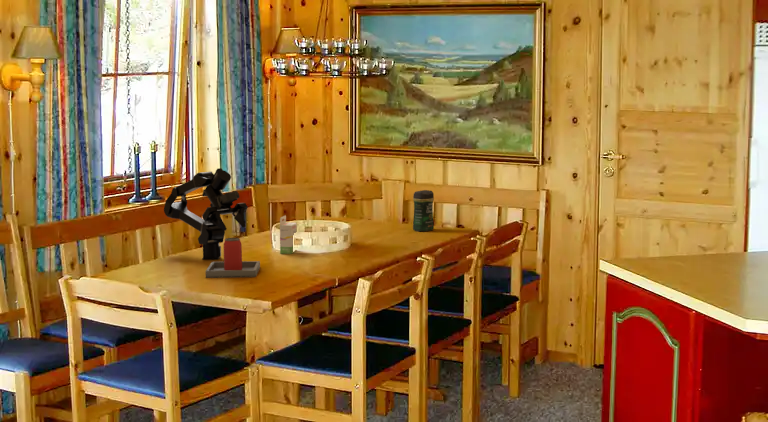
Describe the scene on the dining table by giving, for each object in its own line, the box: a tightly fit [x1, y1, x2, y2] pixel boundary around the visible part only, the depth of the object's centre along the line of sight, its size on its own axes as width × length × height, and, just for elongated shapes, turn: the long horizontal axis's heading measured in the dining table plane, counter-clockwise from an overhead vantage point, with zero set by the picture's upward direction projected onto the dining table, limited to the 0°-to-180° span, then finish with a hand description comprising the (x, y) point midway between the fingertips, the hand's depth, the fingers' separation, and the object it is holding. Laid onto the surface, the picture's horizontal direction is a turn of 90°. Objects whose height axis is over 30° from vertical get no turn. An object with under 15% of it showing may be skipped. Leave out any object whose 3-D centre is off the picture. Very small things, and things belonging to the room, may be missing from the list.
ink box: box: [279, 214, 298, 255], centre depth 426 cm, size 9×5×15 cm, turn 168°
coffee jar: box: [412, 189, 435, 232], centre depth 479 cm, size 10×8×19 cm
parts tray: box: [205, 260, 261, 279], centre depth 385 cm, size 18×18×2 cm
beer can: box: [223, 237, 243, 270], centre depth 384 cm, size 7×7×12 cm
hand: (235, 228), depth 402 cm, fingers open, 9 cm apart
